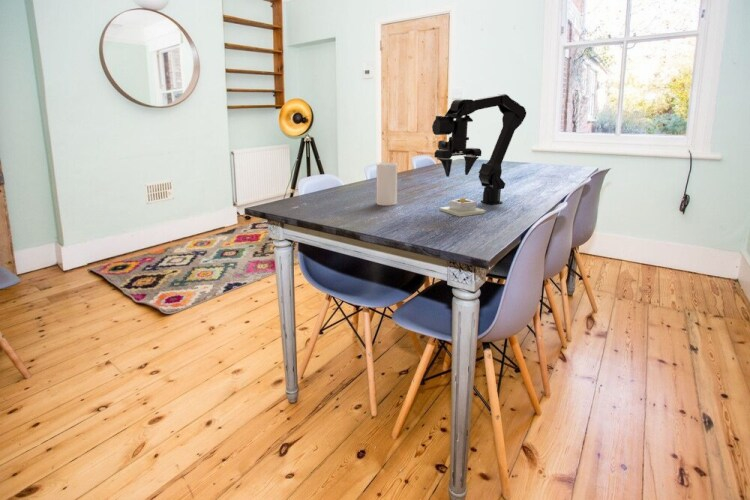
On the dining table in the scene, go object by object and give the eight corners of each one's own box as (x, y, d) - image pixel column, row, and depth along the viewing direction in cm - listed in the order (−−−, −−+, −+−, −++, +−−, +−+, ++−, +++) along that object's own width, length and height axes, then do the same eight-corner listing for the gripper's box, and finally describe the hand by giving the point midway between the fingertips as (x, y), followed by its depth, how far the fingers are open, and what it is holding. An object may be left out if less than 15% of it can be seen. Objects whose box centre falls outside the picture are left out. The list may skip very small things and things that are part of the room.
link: (463, 206, 176) (464, 198, 175) (475, 209, 170) (476, 201, 169) (449, 208, 173) (449, 200, 172) (461, 211, 167) (461, 203, 166)
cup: (395, 205, 182) (395, 165, 177) (374, 205, 183) (374, 164, 178) (398, 201, 189) (398, 162, 184) (378, 201, 191) (378, 162, 186)
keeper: (464, 206, 179) (465, 194, 178) (485, 212, 169) (486, 199, 168) (439, 210, 174) (440, 197, 172) (459, 216, 164) (460, 202, 162)
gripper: (464, 132, 184) (462, 171, 188) (426, 134, 175) (425, 174, 180) (483, 134, 174) (480, 175, 179) (444, 135, 166) (442, 178, 170)
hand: (457, 175), depth 177 cm, fingers open, 9 cm apart
